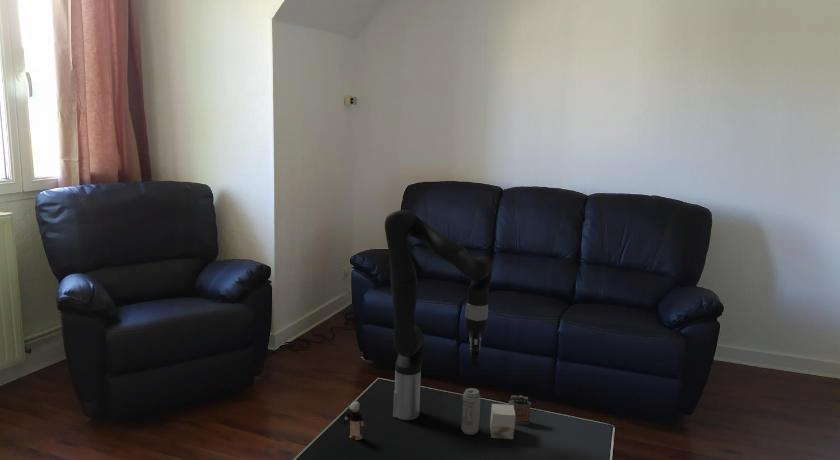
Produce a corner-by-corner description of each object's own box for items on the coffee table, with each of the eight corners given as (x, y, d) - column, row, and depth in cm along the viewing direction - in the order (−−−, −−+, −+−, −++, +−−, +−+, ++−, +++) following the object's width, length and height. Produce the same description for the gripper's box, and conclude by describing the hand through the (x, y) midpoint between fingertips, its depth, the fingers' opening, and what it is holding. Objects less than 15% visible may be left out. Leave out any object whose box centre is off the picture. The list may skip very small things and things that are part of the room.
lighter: (529, 420, 220) (531, 394, 218) (530, 425, 216) (532, 399, 214) (507, 418, 220) (508, 393, 218) (507, 423, 217) (509, 397, 215)
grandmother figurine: (367, 436, 205) (368, 401, 202) (362, 441, 201) (363, 406, 199) (346, 431, 207) (347, 397, 205) (341, 437, 203) (342, 402, 201)
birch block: (491, 438, 207) (491, 426, 206) (490, 427, 214) (490, 415, 213) (513, 439, 206) (514, 427, 205) (511, 428, 214) (512, 416, 213)
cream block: (492, 426, 206) (493, 414, 205) (491, 415, 213) (491, 403, 212) (514, 427, 205) (515, 415, 205) (512, 416, 213) (513, 405, 212)
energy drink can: (481, 433, 209) (484, 392, 207) (467, 437, 206) (470, 396, 204) (471, 425, 214) (473, 385, 212) (457, 429, 211) (459, 389, 209)
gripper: (465, 308, 210) (462, 352, 213) (465, 322, 196) (462, 369, 199) (486, 309, 210) (483, 353, 213) (488, 323, 196) (485, 370, 199)
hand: (473, 361), depth 206 cm, fingers open, 8 cm apart
